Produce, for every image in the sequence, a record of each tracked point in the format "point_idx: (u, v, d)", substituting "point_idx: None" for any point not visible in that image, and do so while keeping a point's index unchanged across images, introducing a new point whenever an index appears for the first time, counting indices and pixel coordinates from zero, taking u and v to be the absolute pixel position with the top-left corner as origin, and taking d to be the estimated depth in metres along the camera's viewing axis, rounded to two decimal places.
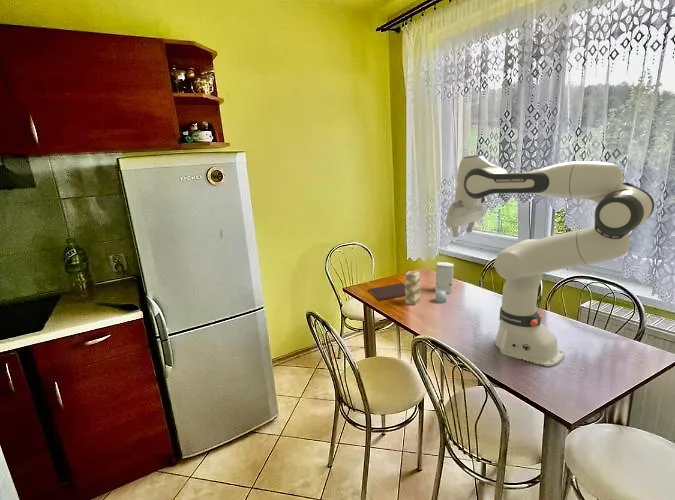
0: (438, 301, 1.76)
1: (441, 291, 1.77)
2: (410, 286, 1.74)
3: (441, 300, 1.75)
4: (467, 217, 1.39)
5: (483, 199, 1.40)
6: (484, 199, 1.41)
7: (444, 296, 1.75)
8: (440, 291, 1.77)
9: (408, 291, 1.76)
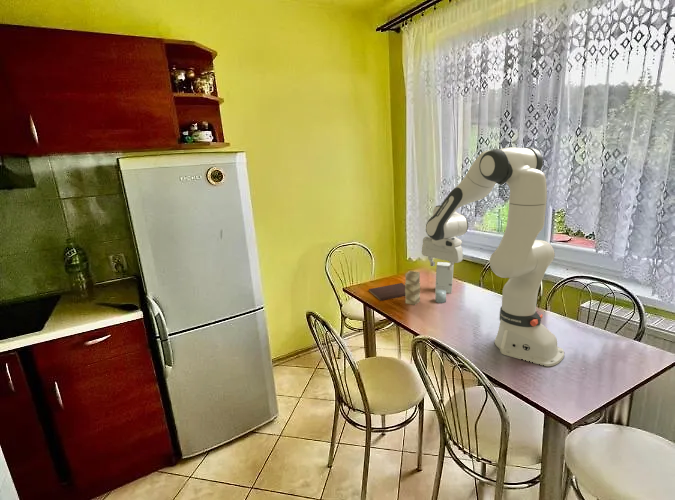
0: (438, 301, 1.76)
1: (441, 291, 1.77)
2: (410, 286, 1.74)
3: (441, 300, 1.75)
4: (437, 253, 1.71)
5: (449, 243, 1.63)
6: (451, 244, 1.63)
7: (444, 296, 1.75)
8: (440, 291, 1.77)
9: (408, 291, 1.76)
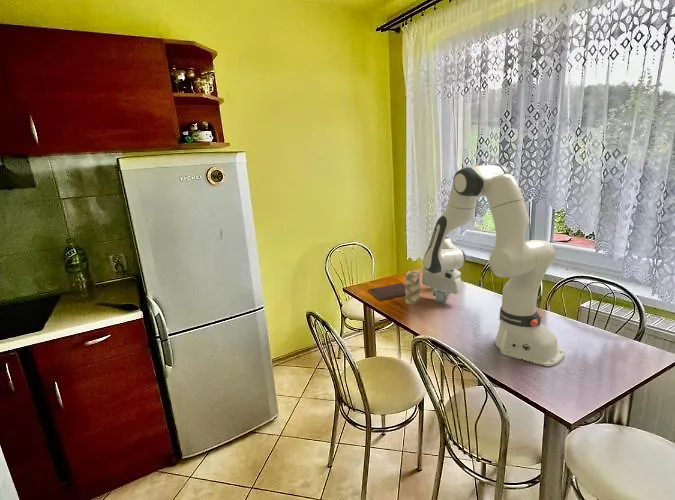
0: (438, 301, 1.76)
1: (441, 291, 1.77)
2: (410, 286, 1.74)
3: (441, 300, 1.75)
4: (437, 283, 1.75)
5: (449, 275, 1.67)
6: (450, 276, 1.67)
7: None
8: (440, 291, 1.77)
9: (408, 291, 1.76)
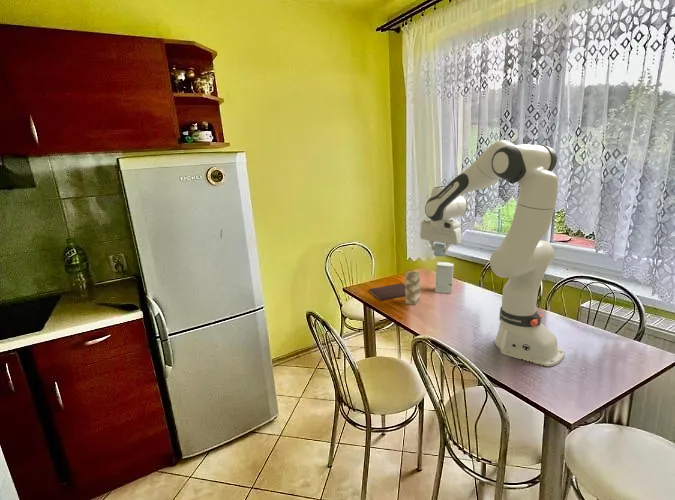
0: (437, 254, 1.70)
1: (440, 244, 1.71)
2: (410, 286, 1.74)
3: (441, 253, 1.69)
4: (436, 236, 1.69)
5: (448, 225, 1.61)
6: (449, 225, 1.61)
7: None
8: (439, 244, 1.71)
9: (408, 291, 1.76)
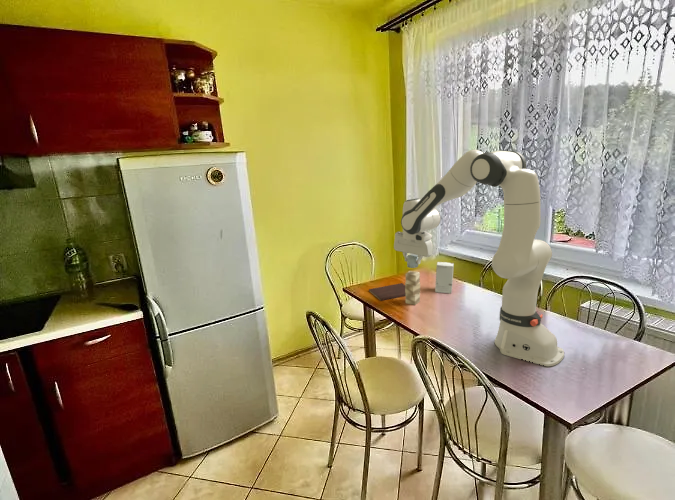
0: (410, 266, 1.72)
1: (413, 255, 1.72)
2: (410, 286, 1.74)
3: (413, 264, 1.71)
4: (408, 247, 1.71)
5: (419, 237, 1.63)
6: (421, 238, 1.62)
7: None
8: (412, 255, 1.73)
9: (408, 291, 1.76)
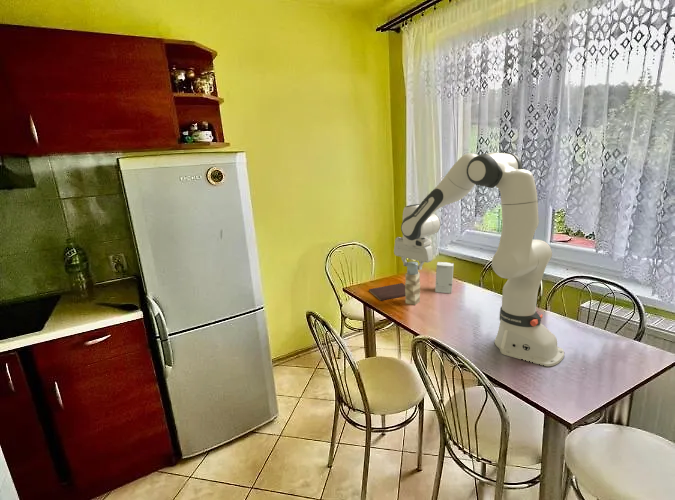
0: (410, 273, 1.73)
1: (413, 263, 1.73)
2: (410, 286, 1.74)
3: (413, 272, 1.72)
4: (408, 253, 1.71)
5: (419, 243, 1.64)
6: (421, 243, 1.63)
7: (416, 267, 1.72)
8: (412, 263, 1.73)
9: (408, 291, 1.76)
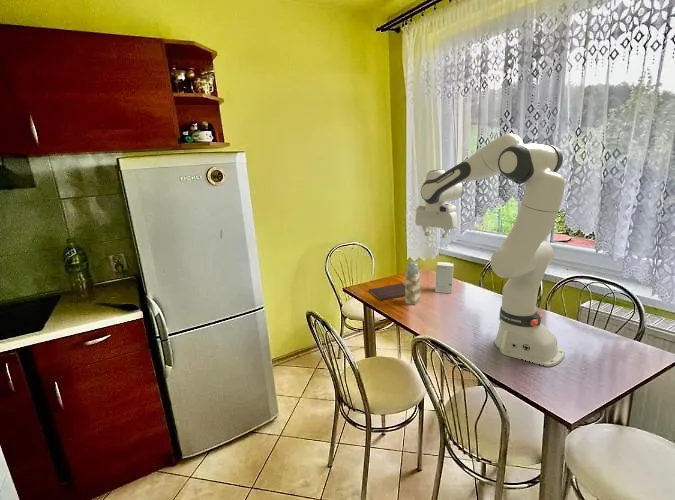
0: (410, 273, 1.73)
1: (413, 262, 1.73)
2: (410, 286, 1.74)
3: (413, 271, 1.72)
4: (431, 221, 1.67)
5: (443, 209, 1.59)
6: (445, 209, 1.58)
7: (416, 267, 1.72)
8: (412, 263, 1.74)
9: (408, 291, 1.76)
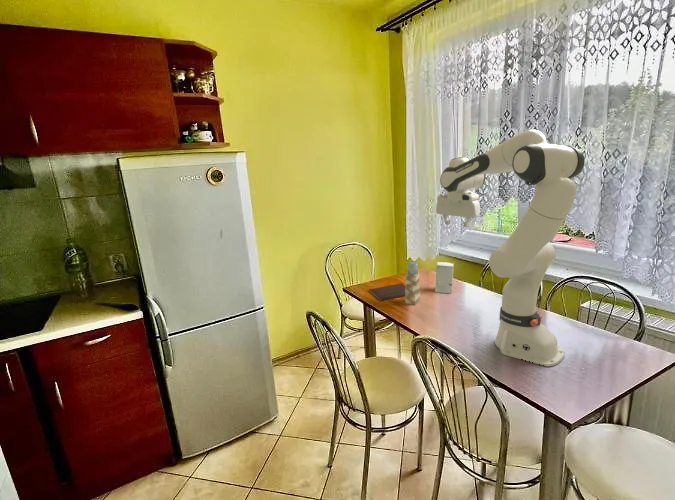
0: (410, 273, 1.73)
1: (413, 263, 1.73)
2: (410, 286, 1.74)
3: (413, 272, 1.72)
4: (453, 209, 1.65)
5: (466, 197, 1.57)
6: (468, 197, 1.56)
7: (416, 267, 1.72)
8: (412, 263, 1.73)
9: (408, 291, 1.76)
